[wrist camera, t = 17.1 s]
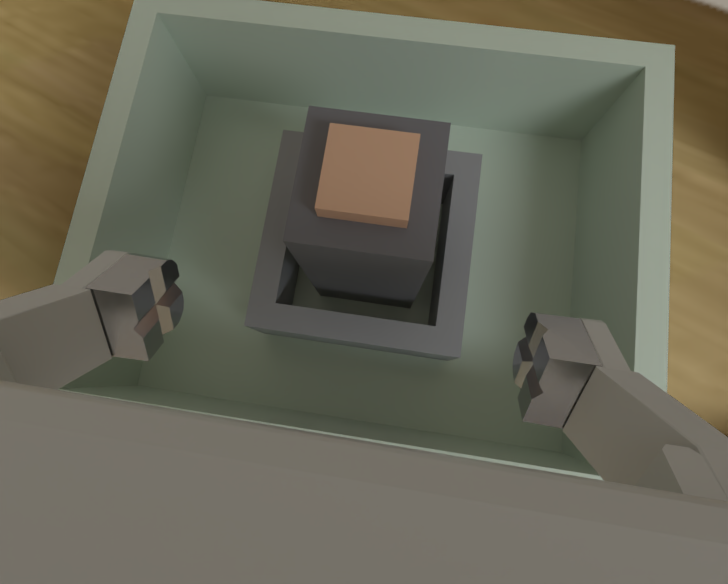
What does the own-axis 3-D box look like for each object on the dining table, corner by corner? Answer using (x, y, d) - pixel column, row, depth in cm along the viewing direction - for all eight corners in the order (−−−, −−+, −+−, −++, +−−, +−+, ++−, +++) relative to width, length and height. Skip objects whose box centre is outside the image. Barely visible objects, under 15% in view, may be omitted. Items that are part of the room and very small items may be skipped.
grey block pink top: (421, 222, 20) (454, 110, 12) (410, 308, 19) (436, 255, 11) (334, 210, 20) (305, 92, 12) (320, 295, 20) (278, 233, 11)
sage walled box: (594, 135, 22) (675, 45, 16) (573, 477, 19) (664, 522, 13) (199, 87, 23) (137, -13, 17) (122, 404, 20) (15, 415, 14)
